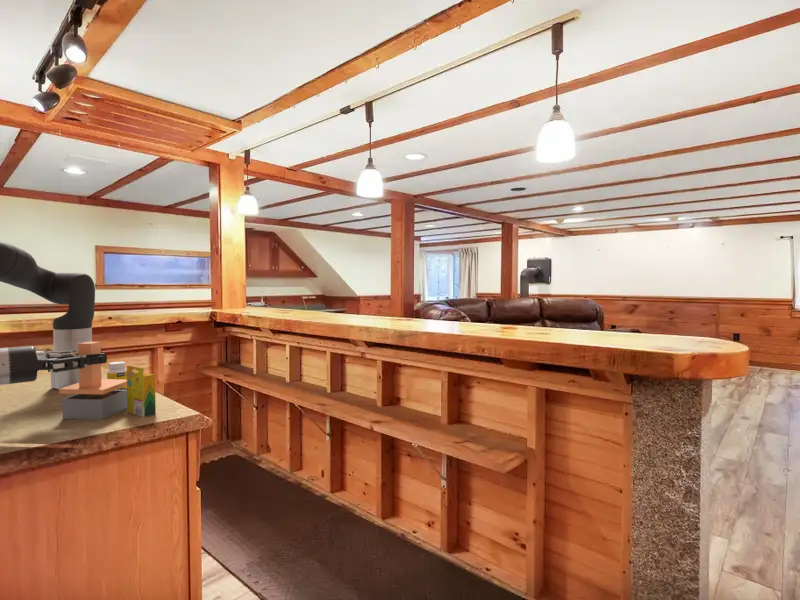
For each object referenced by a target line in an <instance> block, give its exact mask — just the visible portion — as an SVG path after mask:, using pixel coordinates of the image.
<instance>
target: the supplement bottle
mask: <svg viewBox="0 0 800 600" xmlns="http://www.w3.org/2000/svg"><path fill="white" fill-rule="evenodd" d="M126 364H127V363H126V361H112V362H108V370H107V371H106V376H107V378H106V379H125V380H127V375H126V374H127V365H126ZM116 390H127V386H124V387H121V388H119V389H116Z"/></svg>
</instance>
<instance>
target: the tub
mask: <svg viewBox="0 0 800 600" xmlns="http://www.w3.org/2000/svg"><path fill="white" fill-rule="evenodd" d="M108 393H113V395H111V396H108V397H105V398H103V399H85V397H86V396H89V395H92V394H72V395H71V396H68V397H66V398H62V399H61V403H62V404H61V405H62V407H61V408H62V409H61V410H62V420H93V421H94V420H95V421H96V420H99V421H100V420H101V421H102V420H105V419H107V418H109V417H112V416H114V415H116V414H119V413H121V412H123V411H125V410H127V390H113V391H111V392H108Z"/></svg>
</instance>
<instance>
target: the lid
mask: <svg viewBox="0 0 800 600" xmlns="http://www.w3.org/2000/svg"><path fill="white" fill-rule="evenodd" d="M101 346H102V344H101V341H92V342H83V343H78V355H82V354H85V355H90V354H101V351H102V350H101V349H102V348H101ZM124 386H127V380H125V379H107V378H102V364H93V365H87V366H85V368H82V369H80V368H79V383H76V384H73V385H70V386H67V387H64V388H61V389H58V394H62V395H65V394H67V395H70V394H71V395H76V394H106V393H108V392H111V391H113V390H116V389H119V388H121V387H124Z"/></svg>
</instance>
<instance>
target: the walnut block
mask: <svg viewBox="0 0 800 600" xmlns="http://www.w3.org/2000/svg"><path fill="white" fill-rule="evenodd" d="M111 395H113V393H106V394H92V395H89V396H86V397H85V399H103V398H105V397H108V396H111Z"/></svg>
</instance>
